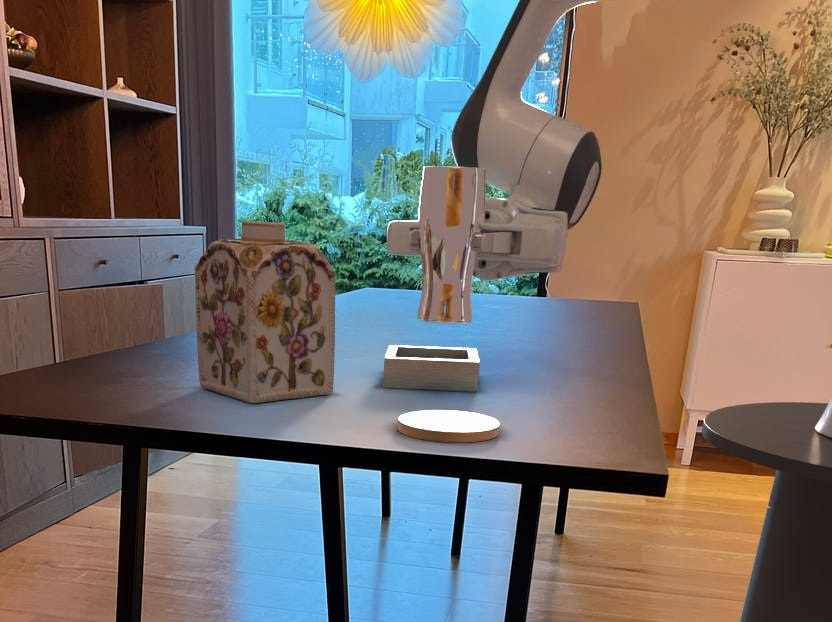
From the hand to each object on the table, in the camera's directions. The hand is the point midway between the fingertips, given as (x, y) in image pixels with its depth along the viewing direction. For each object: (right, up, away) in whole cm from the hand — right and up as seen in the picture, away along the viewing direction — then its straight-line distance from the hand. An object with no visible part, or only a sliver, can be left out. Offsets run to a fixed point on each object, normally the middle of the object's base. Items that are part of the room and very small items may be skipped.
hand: (445, 241), depth 95 cm
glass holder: (0, -10, +18) cm, 21 cm away
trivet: (0, -22, -7) cm, 23 cm away
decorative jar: (-20, -14, +9) cm, 26 cm away
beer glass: (0, -7, +4) cm, 8 cm away
